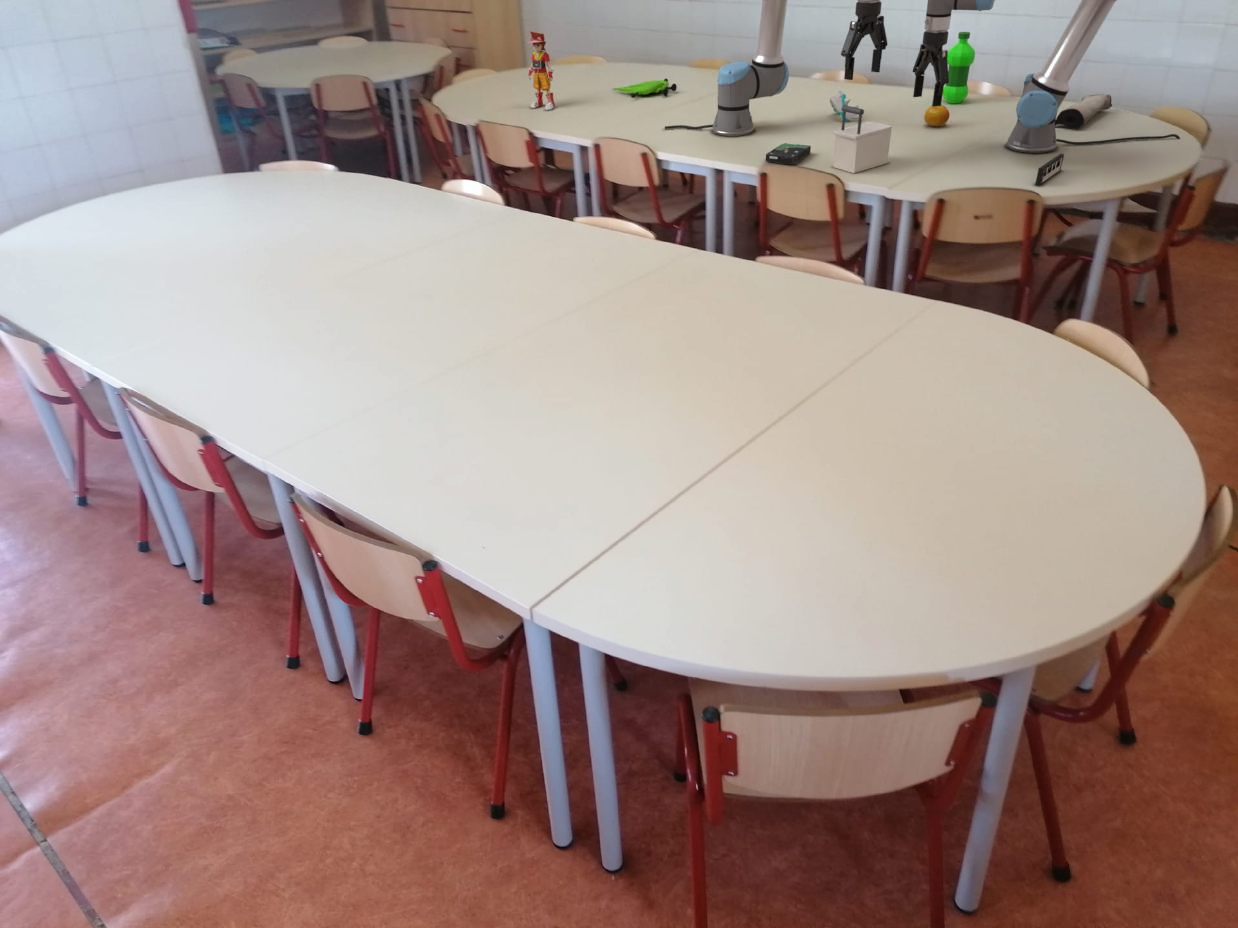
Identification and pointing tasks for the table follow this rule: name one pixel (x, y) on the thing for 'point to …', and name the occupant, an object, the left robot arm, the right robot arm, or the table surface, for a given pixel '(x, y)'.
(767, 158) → the disk drive
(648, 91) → the toy
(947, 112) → the fruit
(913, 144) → the table surface
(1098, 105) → the rolled mat
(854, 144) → the chest
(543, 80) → the toy
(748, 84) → the left robot arm
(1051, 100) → the right robot arm
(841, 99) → the anatomical model
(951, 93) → the plastic bottle
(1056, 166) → the midi keyboard
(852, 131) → the lid
